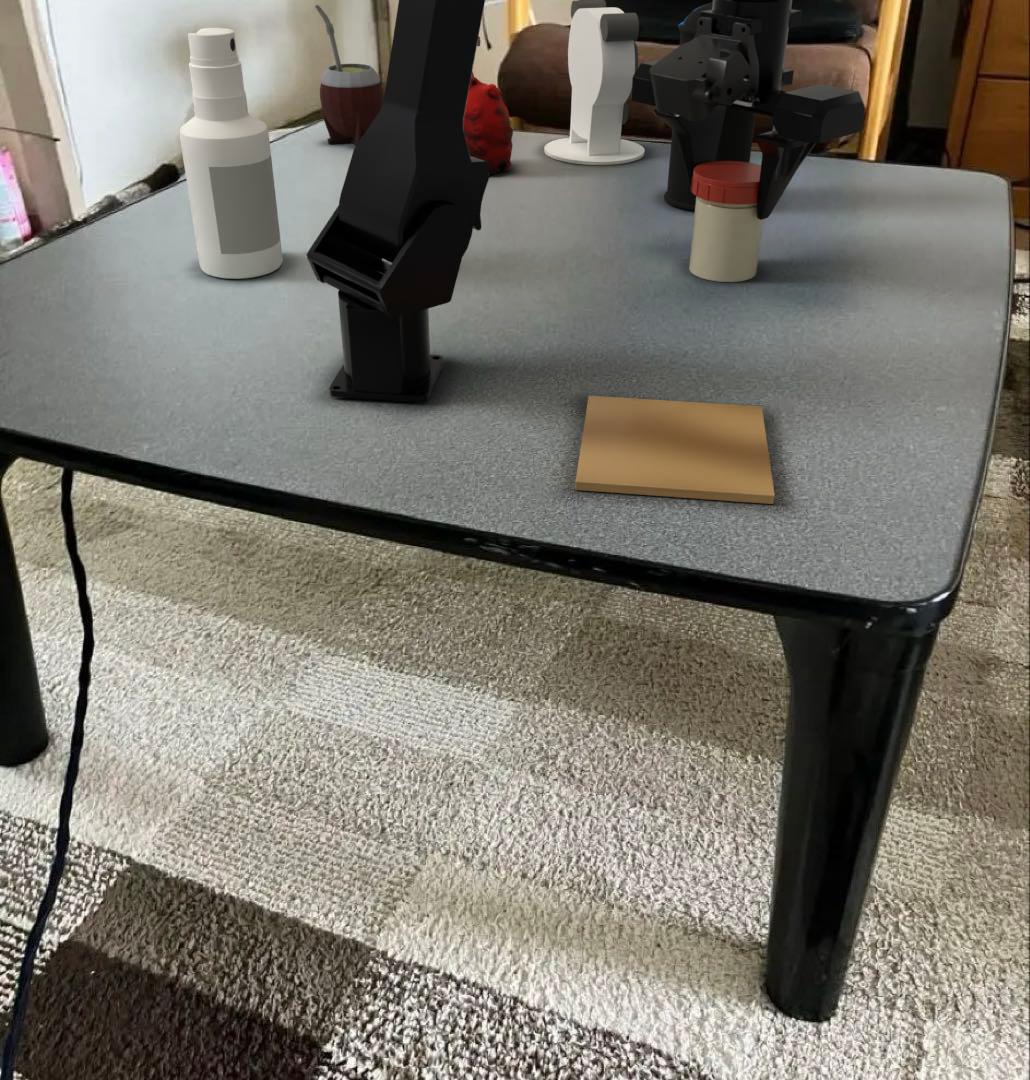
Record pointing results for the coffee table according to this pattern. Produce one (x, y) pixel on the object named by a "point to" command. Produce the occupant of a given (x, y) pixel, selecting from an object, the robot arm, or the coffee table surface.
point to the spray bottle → (228, 166)
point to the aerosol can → (731, 142)
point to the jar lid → (727, 182)
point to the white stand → (599, 85)
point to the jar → (725, 241)
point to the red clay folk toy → (488, 125)
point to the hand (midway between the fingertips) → (730, 208)
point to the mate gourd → (348, 96)
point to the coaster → (675, 450)
